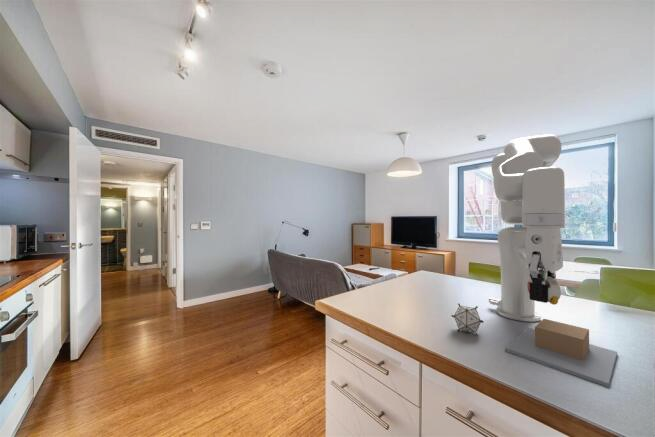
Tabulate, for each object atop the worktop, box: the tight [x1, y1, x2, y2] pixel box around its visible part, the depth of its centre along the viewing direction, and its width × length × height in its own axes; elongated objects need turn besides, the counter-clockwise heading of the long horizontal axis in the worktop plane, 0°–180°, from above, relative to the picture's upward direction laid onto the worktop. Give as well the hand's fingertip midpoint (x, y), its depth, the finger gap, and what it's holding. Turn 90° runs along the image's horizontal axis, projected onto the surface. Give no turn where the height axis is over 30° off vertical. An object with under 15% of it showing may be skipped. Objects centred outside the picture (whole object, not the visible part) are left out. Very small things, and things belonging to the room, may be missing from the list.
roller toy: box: [527, 276, 562, 305], centre depth 58 cm, size 4×6×6 cm
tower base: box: [504, 318, 618, 388], centre depth 64 cm, size 18×20×6 cm
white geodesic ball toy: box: [450, 302, 484, 336], centre depth 76 cm, size 9×8×10 cm
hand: (543, 297), depth 58 cm, fingers closed on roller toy, 6 cm apart
